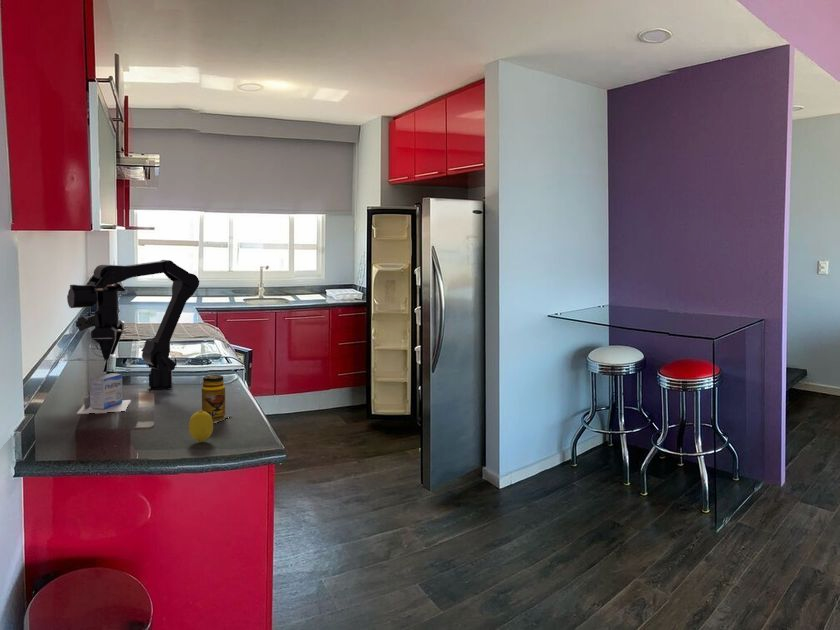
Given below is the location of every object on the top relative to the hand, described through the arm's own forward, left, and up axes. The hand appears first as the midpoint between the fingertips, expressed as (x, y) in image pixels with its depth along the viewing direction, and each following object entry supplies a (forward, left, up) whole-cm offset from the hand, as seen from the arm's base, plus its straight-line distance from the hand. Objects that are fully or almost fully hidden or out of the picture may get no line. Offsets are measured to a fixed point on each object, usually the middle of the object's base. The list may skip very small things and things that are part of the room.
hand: (109, 357), depth 185 cm
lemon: (-28, +52, -12) cm, 60 cm away
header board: (-1, +14, -12) cm, 19 cm away
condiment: (-30, +32, -12) cm, 46 cm away
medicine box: (-1, +14, -12) cm, 19 cm away
